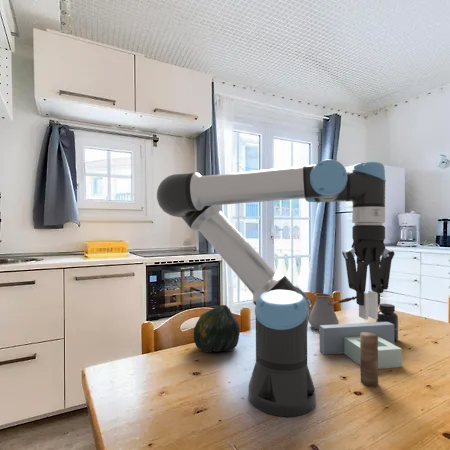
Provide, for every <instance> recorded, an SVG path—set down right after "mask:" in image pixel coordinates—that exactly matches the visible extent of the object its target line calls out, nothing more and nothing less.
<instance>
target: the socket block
mask: <svg viewBox="0 0 450 450" xmlns="http://www.w3.org/2000/svg"><path fill="white" fill-rule="evenodd" d="M343 354H344V355H346V356H347V357H348V358H350V359H351V360H352V361H354V362H355V363H356V364H358V365H359V366H360V367H361V363H360V337H344V353H343ZM402 367H403V350H402V348H401V347H399V346H397V345H395V343H394V344H392V343H390V342H388V341H386V340H384V339H382V338H380V337H379V336H378V370H379V369H390V368H402Z"/></svg>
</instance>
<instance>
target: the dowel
mask: <svg viewBox="0 0 450 450" xmlns="http://www.w3.org/2000/svg"><path fill="white" fill-rule="evenodd" d="M360 363H361V366H360V383H361V384H363V385H364V386H366V387H369V388H370V387H371V388H376V387H378V386H379V369H378V335H376V334H374V333H370V332H362V333H360Z"/></svg>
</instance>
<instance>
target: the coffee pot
mask: <svg viewBox="0 0 450 450" xmlns="http://www.w3.org/2000/svg"><path fill="white" fill-rule="evenodd" d="M314 297H315V302H314V304H313V307H312V309H311V310H310V316H309V320H308V324H309V325H310V326H311V327H312V328H313V327H314V328H315V329H314V328H313V329H314V330H318V331H319V325H336V324H339V323H340V322H339V320H338V317H337V313H336V312H335V309H334V307H333V306H334V305H336V304H341V303H347V302H350V301H355V300H356V296H352V297H345V298H344V299H340V300H337V301H333V302H331V298H332V297H333V296H332V294H329V293H314Z"/></svg>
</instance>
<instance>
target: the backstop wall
mask: <svg viewBox="0 0 450 450" xmlns="http://www.w3.org/2000/svg"><path fill="white" fill-rule="evenodd" d="M318 332H319V351H320V353H322V354H323V355H334V354H335V355H336V354H344V337H360V333H362V332H370V333H374V334H376V335H378V336H379V337H380V338H382V339H384V340H386V341H388V342H390V343H392V344H394V345H395V342H394V324H392V323H390V322H376V321H375V322H360V323H359V322H357V323H356V322H354V323H341V324H339V323H338V324H336V325H319V330H318Z"/></svg>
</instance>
